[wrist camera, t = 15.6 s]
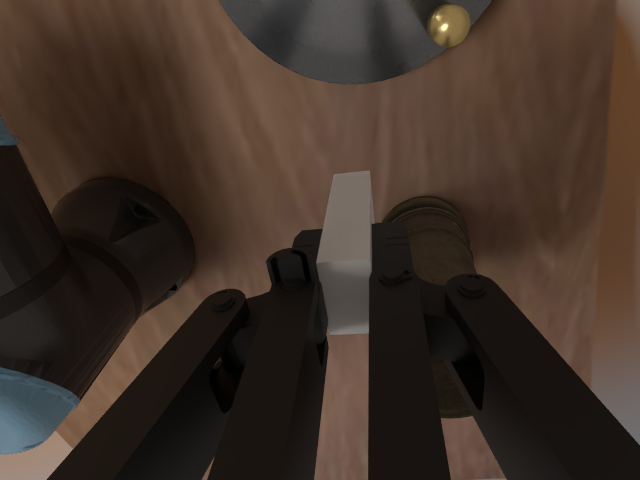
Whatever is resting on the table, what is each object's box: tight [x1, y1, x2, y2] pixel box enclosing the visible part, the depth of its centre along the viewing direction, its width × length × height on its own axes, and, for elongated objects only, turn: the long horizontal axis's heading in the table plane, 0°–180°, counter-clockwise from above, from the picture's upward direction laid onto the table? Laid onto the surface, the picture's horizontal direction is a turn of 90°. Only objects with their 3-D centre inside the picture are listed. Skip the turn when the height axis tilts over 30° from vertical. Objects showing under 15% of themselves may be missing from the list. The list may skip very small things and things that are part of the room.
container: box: [382, 197, 477, 418], centre depth 33 cm, size 9×9×18 cm
